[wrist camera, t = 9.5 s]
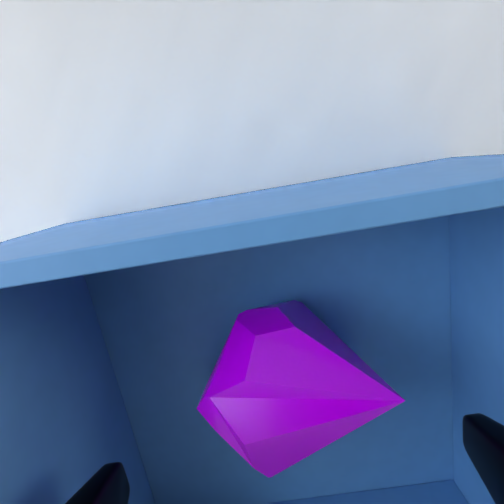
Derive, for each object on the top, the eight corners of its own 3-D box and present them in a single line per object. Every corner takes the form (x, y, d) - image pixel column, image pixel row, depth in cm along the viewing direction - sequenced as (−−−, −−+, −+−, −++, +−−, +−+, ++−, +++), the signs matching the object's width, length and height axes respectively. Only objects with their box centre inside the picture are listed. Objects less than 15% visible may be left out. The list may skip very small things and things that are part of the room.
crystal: (250, 271, 13) (248, 328, 8) (370, 325, 13) (430, 406, 9) (197, 376, 14) (171, 476, 9) (310, 422, 14) (336, 536, 10)
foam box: (457, 476, 16) (613, 710, 9) (155, 514, 16) (85, 760, 10) (453, 157, 12) (714, 141, 5) (63, 223, 13) (-156, 287, 6)
